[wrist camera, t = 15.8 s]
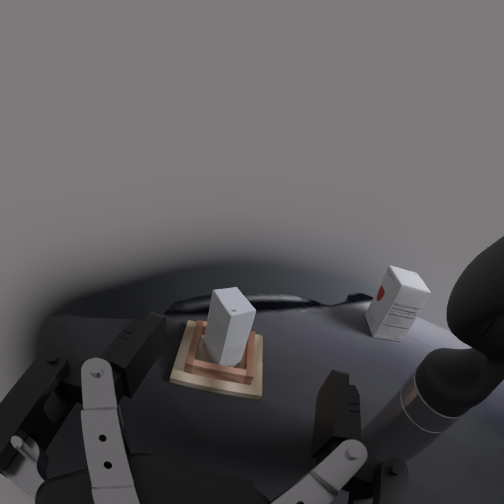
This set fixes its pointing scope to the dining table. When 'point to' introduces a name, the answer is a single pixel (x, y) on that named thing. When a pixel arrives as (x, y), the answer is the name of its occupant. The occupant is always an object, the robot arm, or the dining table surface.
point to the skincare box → (228, 327)
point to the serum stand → (217, 366)
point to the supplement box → (396, 304)
